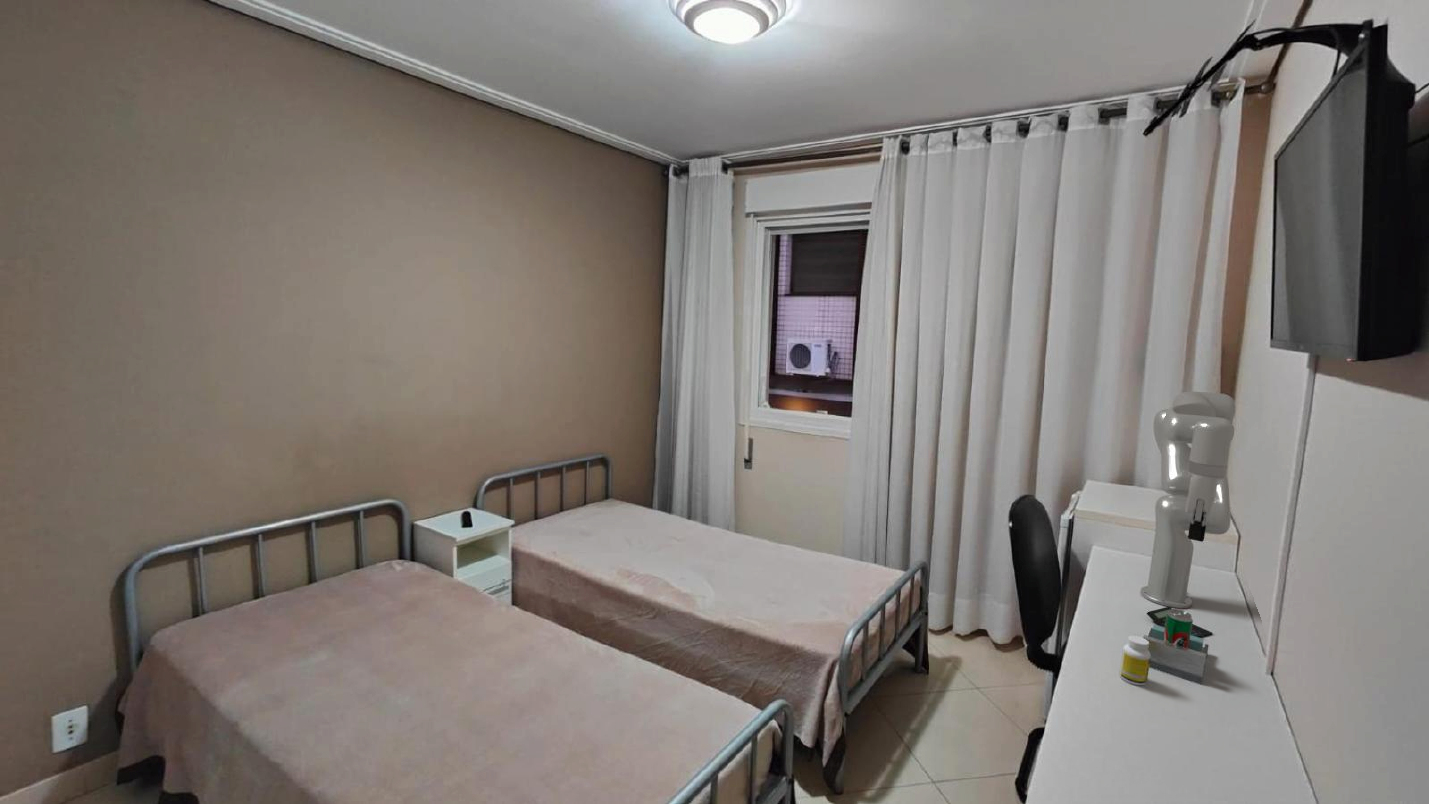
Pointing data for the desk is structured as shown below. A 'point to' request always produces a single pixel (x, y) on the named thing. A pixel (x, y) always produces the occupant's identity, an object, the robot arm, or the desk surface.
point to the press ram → (1193, 644)
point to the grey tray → (1177, 659)
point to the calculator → (1160, 620)
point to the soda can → (1178, 627)
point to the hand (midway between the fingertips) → (1195, 539)
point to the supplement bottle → (1135, 661)
